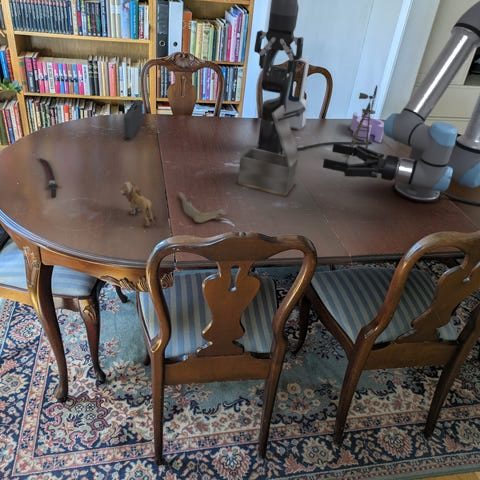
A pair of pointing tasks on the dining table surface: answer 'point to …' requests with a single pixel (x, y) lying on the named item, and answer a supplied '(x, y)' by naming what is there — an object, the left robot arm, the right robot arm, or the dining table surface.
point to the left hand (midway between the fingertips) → (275, 70)
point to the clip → (374, 127)
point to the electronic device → (298, 102)
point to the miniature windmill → (366, 112)
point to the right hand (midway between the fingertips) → (328, 154)
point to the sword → (52, 181)
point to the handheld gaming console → (133, 119)
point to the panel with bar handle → (286, 133)
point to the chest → (266, 171)
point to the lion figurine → (137, 201)
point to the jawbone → (195, 213)
